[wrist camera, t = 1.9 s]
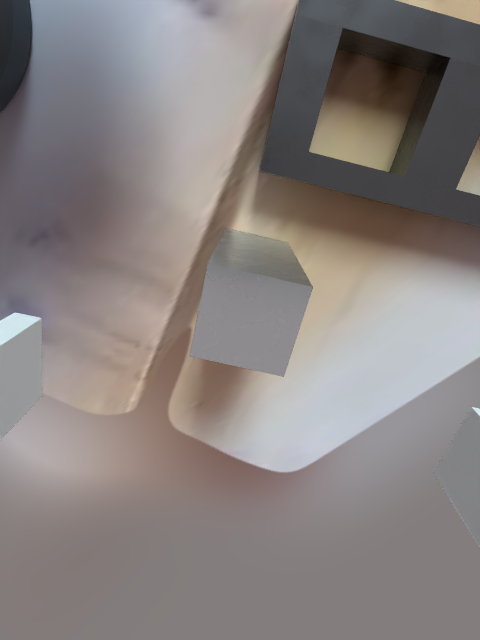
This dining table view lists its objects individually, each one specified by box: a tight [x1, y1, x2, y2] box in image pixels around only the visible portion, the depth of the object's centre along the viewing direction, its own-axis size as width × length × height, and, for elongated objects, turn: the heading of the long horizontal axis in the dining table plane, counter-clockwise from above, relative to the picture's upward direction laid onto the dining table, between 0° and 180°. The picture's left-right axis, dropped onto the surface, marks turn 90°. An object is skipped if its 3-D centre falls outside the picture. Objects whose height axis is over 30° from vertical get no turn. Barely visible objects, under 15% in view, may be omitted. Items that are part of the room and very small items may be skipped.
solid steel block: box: [190, 228, 313, 377], centre depth 22 cm, size 5×5×12 cm
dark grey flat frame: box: [259, 0, 480, 227], centre depth 23 cm, size 22×10×3 cm, turn 77°
